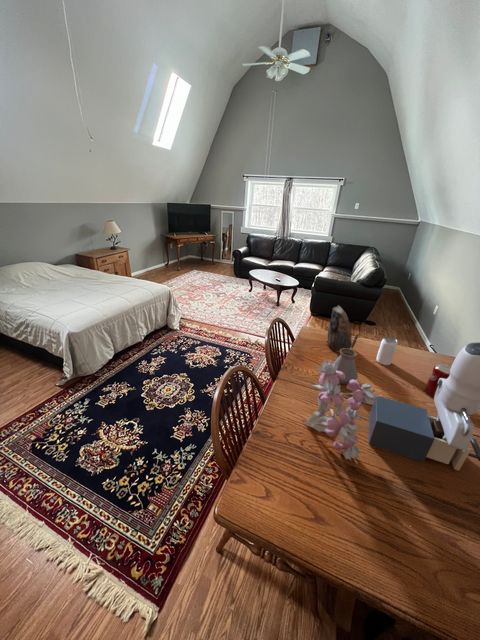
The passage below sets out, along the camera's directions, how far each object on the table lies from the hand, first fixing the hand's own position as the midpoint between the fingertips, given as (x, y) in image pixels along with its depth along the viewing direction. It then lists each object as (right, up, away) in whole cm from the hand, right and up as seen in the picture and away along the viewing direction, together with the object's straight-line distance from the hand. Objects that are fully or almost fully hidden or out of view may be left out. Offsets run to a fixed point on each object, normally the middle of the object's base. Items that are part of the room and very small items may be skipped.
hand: (441, 435), depth 79 cm
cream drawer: (0, -5, +2) cm, 6 cm away
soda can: (+18, +4, +28) cm, 33 cm away
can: (+8, +14, +47) cm, 50 cm away
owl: (-9, +20, +59) cm, 63 cm away
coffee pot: (-14, +11, +38) cm, 42 cm away
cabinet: (-10, -4, +7) cm, 13 cm away
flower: (-30, -4, +4) cm, 30 cm away
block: (0, -1, +1) cm, 2 cm away
